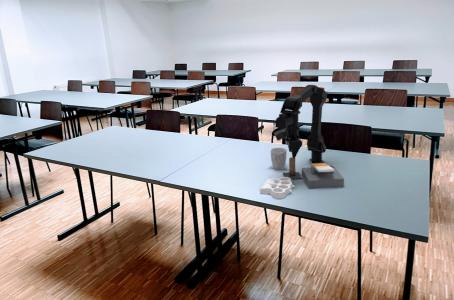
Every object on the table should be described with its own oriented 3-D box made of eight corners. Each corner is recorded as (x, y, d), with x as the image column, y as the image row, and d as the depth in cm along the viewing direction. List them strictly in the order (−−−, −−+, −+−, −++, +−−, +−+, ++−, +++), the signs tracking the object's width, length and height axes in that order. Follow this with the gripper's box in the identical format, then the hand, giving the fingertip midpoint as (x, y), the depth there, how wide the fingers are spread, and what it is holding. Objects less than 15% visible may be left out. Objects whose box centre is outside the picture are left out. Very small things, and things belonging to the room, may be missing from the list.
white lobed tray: (267, 181, 170) (297, 184, 165) (257, 197, 154) (290, 201, 149) (267, 175, 169) (297, 177, 164) (257, 190, 153) (290, 194, 148)
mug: (277, 162, 193) (277, 145, 190) (291, 164, 188) (291, 147, 185) (268, 168, 184) (267, 151, 181) (282, 171, 180) (282, 153, 177)
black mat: (282, 173, 177) (282, 172, 177) (298, 172, 177) (298, 171, 177) (285, 180, 169) (285, 178, 169) (301, 179, 169) (301, 178, 169)
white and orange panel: (311, 166, 172) (311, 163, 172) (325, 165, 172) (325, 163, 171) (318, 172, 157) (318, 169, 157) (334, 171, 157) (334, 168, 157)
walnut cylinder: (288, 174, 174) (288, 157, 172) (294, 173, 174) (294, 157, 172) (289, 176, 172) (289, 159, 169) (295, 176, 172) (295, 159, 169)
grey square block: (301, 175, 174) (301, 160, 172) (333, 173, 174) (334, 158, 171) (308, 188, 159) (309, 172, 156) (343, 186, 159) (344, 171, 156)
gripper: (272, 120, 173) (273, 149, 178) (278, 130, 156) (278, 162, 161) (295, 119, 173) (294, 148, 178) (302, 128, 156) (302, 161, 160)
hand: (292, 154), depth 169 cm, fingers open, 9 cm apart
